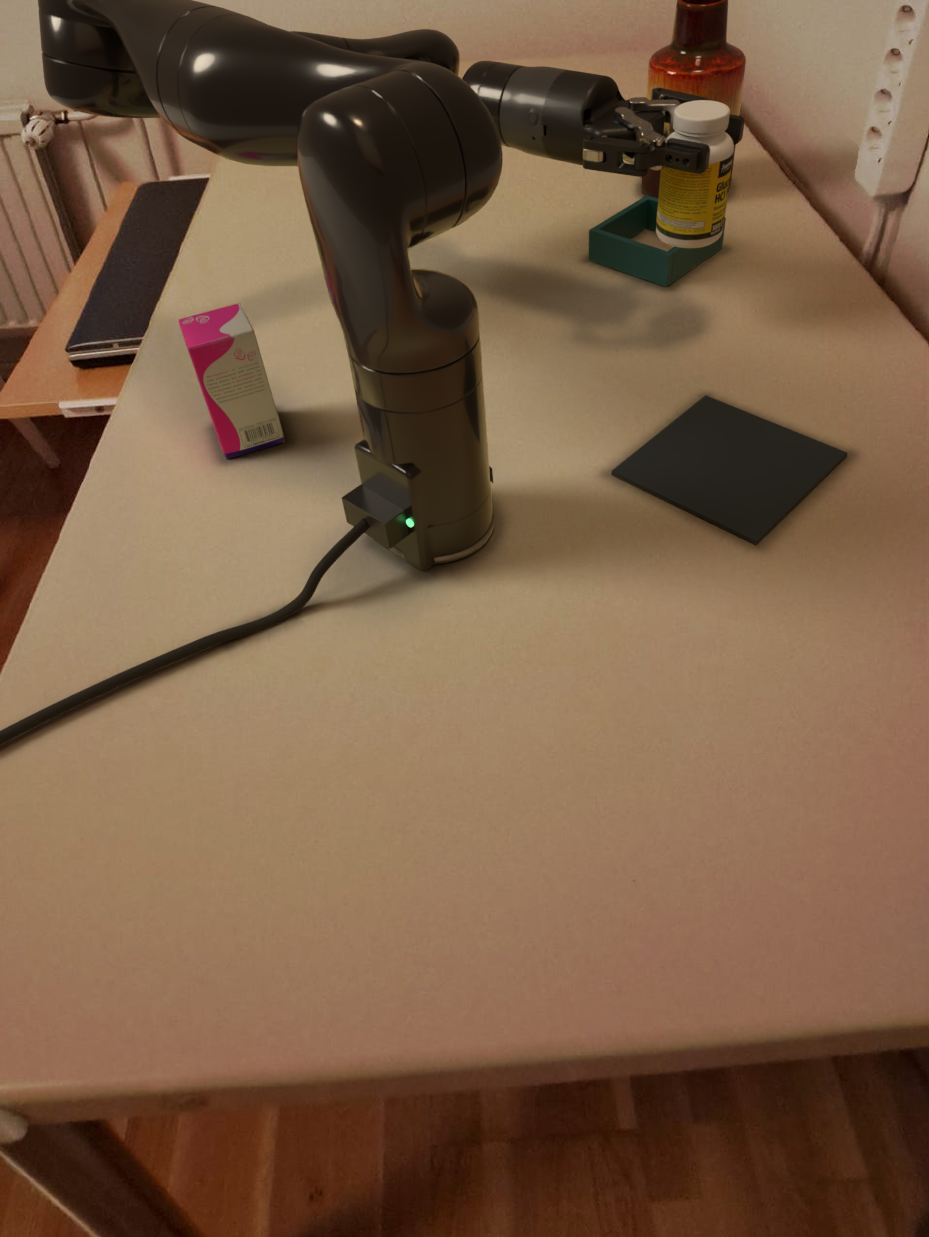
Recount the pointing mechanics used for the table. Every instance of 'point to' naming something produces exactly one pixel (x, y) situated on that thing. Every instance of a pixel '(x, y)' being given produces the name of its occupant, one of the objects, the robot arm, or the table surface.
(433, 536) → the robot arm
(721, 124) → the pill bottle
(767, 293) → the table surface
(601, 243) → the square frame
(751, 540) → the mat
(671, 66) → the vase
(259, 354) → the supplement box
